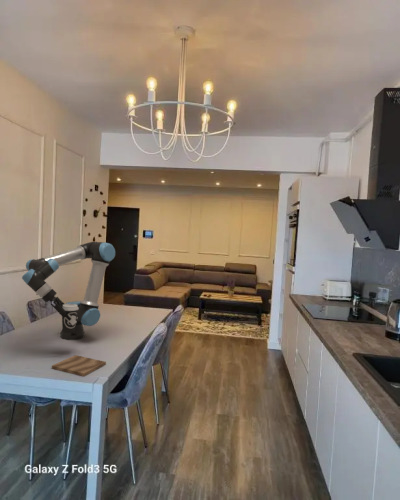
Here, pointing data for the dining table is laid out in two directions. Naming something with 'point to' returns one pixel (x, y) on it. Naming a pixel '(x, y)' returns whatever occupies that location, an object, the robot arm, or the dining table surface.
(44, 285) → the robot arm
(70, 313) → the coffee cup
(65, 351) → the dining table surface
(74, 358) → the wooden board
